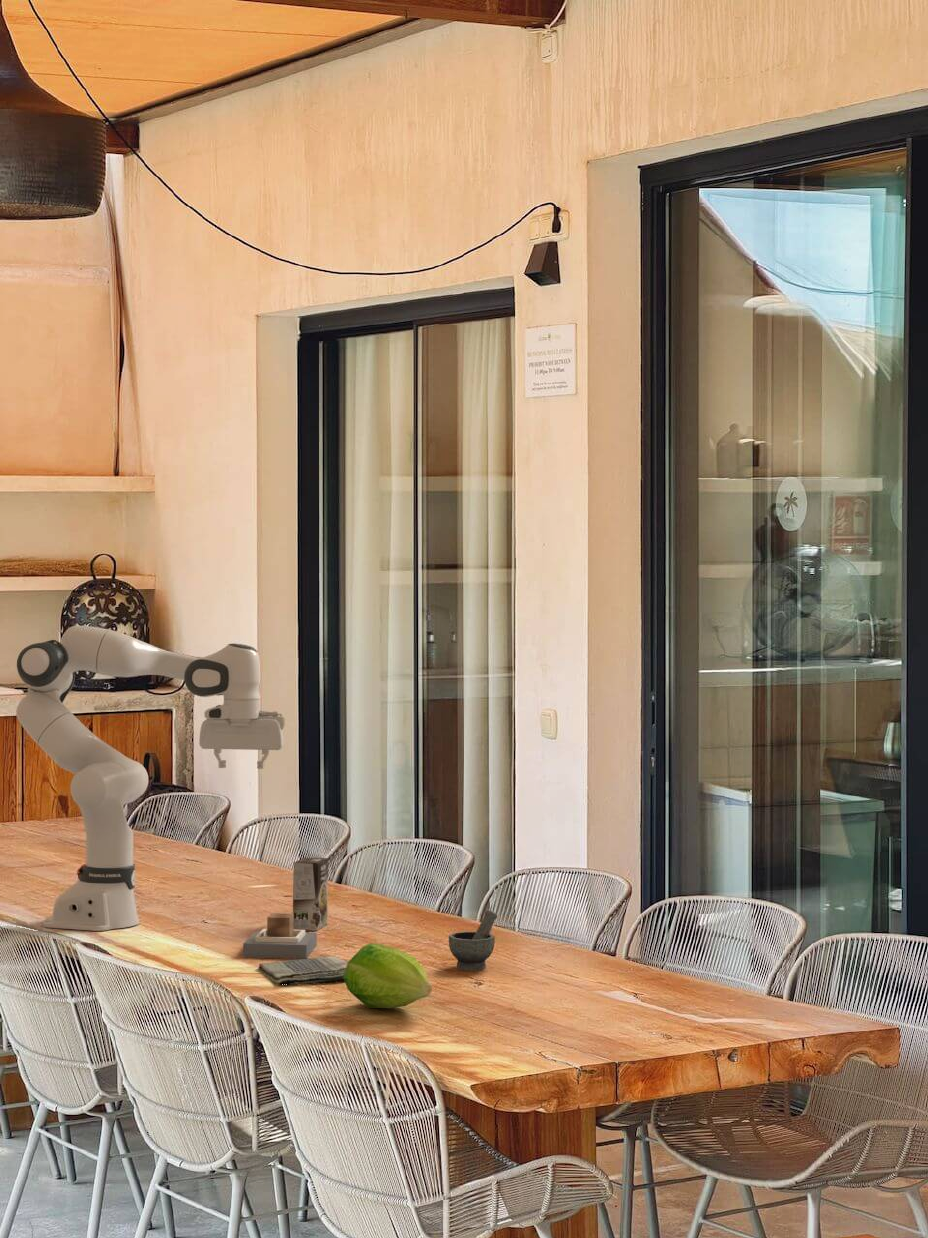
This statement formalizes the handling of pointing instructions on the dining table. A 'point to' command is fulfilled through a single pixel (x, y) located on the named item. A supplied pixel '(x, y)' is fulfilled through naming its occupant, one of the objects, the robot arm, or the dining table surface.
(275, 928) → the walnut block
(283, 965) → the dish towel
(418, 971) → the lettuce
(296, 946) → the plinth
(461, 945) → the mortar and pestle
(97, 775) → the robot arm
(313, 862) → the coffee box
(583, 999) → the dining table surface
